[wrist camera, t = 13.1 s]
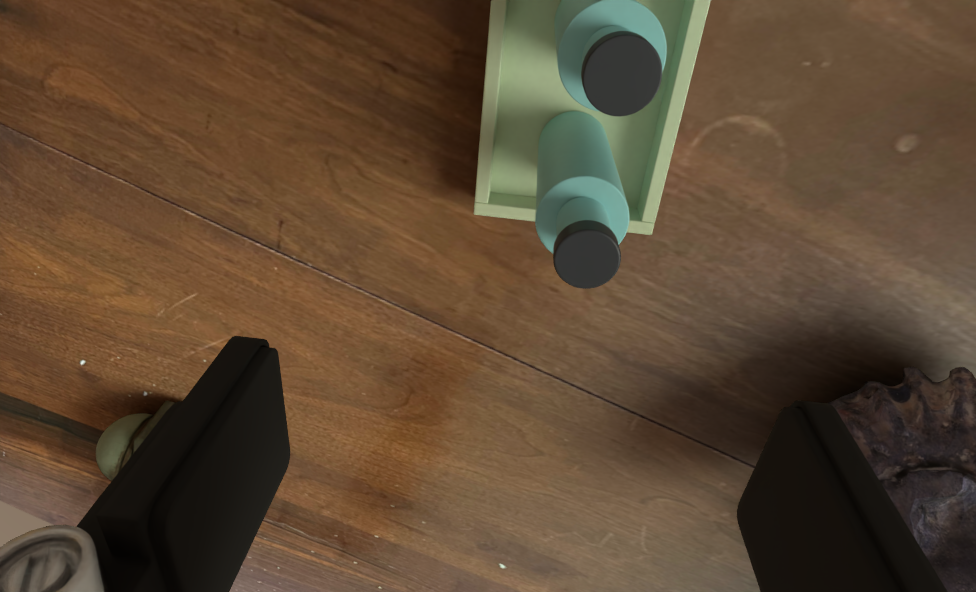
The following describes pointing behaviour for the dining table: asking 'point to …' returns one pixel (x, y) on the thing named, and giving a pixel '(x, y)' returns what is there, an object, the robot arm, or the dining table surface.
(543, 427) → the dining table surface
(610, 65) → the tray bottle
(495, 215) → the tray
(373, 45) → the dining table surface
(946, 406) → the seashell
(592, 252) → the bottle
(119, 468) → the post
